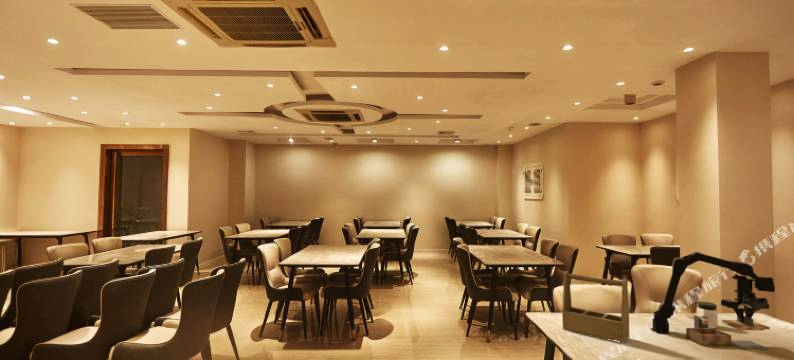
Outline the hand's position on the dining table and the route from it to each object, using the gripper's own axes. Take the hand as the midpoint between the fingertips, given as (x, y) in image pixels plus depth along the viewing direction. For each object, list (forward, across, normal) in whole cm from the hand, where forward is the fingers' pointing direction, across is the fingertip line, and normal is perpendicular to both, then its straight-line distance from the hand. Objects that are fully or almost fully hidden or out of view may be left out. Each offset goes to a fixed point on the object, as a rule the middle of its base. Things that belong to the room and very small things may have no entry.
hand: (744, 322), depth 190 cm
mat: (+11, 0, 0) cm, 11 cm away
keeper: (+11, -10, +14) cm, 20 cm away
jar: (+11, +3, +27) cm, 30 cm away
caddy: (+12, -65, +14) cm, 67 cm away
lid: (+3, 0, 0) cm, 3 cm away
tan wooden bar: (+5, -10, +17) cm, 20 cm away
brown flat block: (+11, -15, +3) cm, 19 cm away
